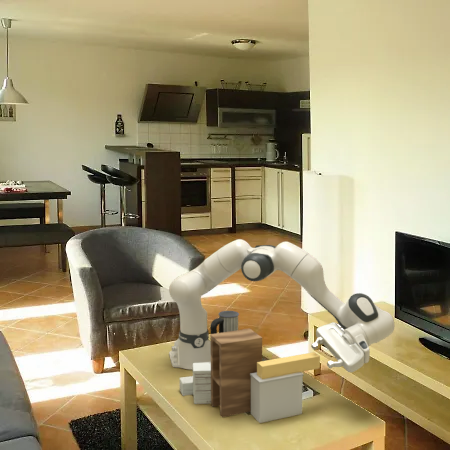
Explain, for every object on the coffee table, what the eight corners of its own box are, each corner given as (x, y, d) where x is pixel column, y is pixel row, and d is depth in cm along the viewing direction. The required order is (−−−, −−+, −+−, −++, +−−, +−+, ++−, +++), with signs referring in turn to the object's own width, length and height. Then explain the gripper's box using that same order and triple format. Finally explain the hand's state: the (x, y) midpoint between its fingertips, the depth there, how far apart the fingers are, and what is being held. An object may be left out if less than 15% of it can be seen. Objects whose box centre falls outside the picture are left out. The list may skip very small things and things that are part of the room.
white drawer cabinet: (193, 395, 216) (192, 362, 214) (213, 394, 217) (213, 361, 214) (193, 404, 209) (192, 370, 207) (214, 403, 209) (213, 370, 207)
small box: (197, 394, 217) (197, 381, 216) (182, 396, 215) (182, 383, 215) (194, 387, 222) (194, 375, 222) (179, 389, 221) (178, 377, 220)
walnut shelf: (211, 404, 209) (210, 334, 204) (249, 397, 214) (249, 328, 210) (222, 417, 200) (221, 344, 195) (261, 409, 205) (262, 337, 201)
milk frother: (226, 340, 271) (226, 309, 268) (255, 347, 262) (255, 315, 259) (207, 349, 260) (207, 317, 257) (236, 357, 250) (236, 324, 248)
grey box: (249, 413, 202) (249, 373, 200) (292, 404, 208) (292, 365, 206) (259, 423, 195) (259, 382, 193) (302, 413, 202) (303, 373, 199)
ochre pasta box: (256, 374, 199) (256, 362, 198) (313, 364, 207) (313, 352, 206) (262, 379, 195) (262, 366, 194) (319, 368, 203) (320, 356, 203)
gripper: (335, 314, 210) (303, 330, 206) (372, 352, 195) (337, 370, 191) (335, 327, 214) (303, 342, 210) (371, 365, 199) (337, 383, 195)
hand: (320, 356), depth 200 cm, fingers open, 8 cm apart
